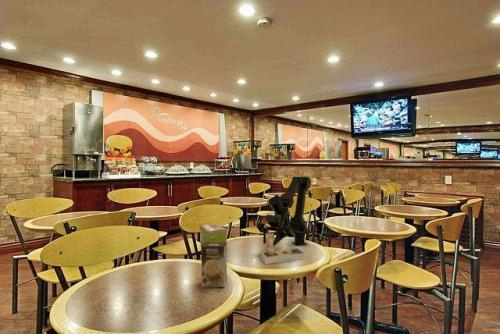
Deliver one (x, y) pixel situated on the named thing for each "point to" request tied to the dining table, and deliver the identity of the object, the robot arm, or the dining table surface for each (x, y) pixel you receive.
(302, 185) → the robot arm
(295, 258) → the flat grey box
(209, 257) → the coffee box
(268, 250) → the peg
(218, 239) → the tea box
